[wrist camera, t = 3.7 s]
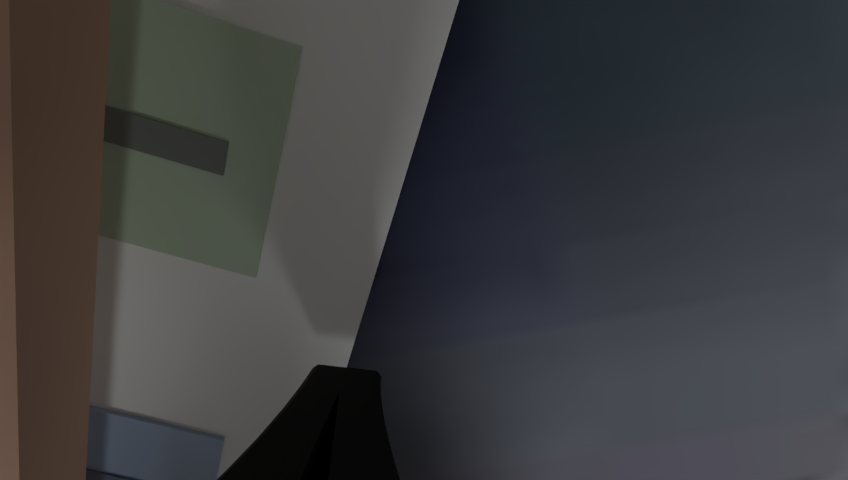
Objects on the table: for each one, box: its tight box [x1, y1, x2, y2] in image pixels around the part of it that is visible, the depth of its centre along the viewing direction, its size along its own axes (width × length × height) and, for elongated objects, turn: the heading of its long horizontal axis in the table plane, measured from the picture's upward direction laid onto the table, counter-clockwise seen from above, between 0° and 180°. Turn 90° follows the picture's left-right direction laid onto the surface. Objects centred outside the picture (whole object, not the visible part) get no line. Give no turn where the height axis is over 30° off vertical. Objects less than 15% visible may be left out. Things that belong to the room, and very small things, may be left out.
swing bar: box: [0, 0, 111, 480], centre depth 11 cm, size 22×3×4 cm, turn 163°
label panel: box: [86, 0, 459, 480], centre depth 13 cm, size 12×24×1 cm, turn 163°
